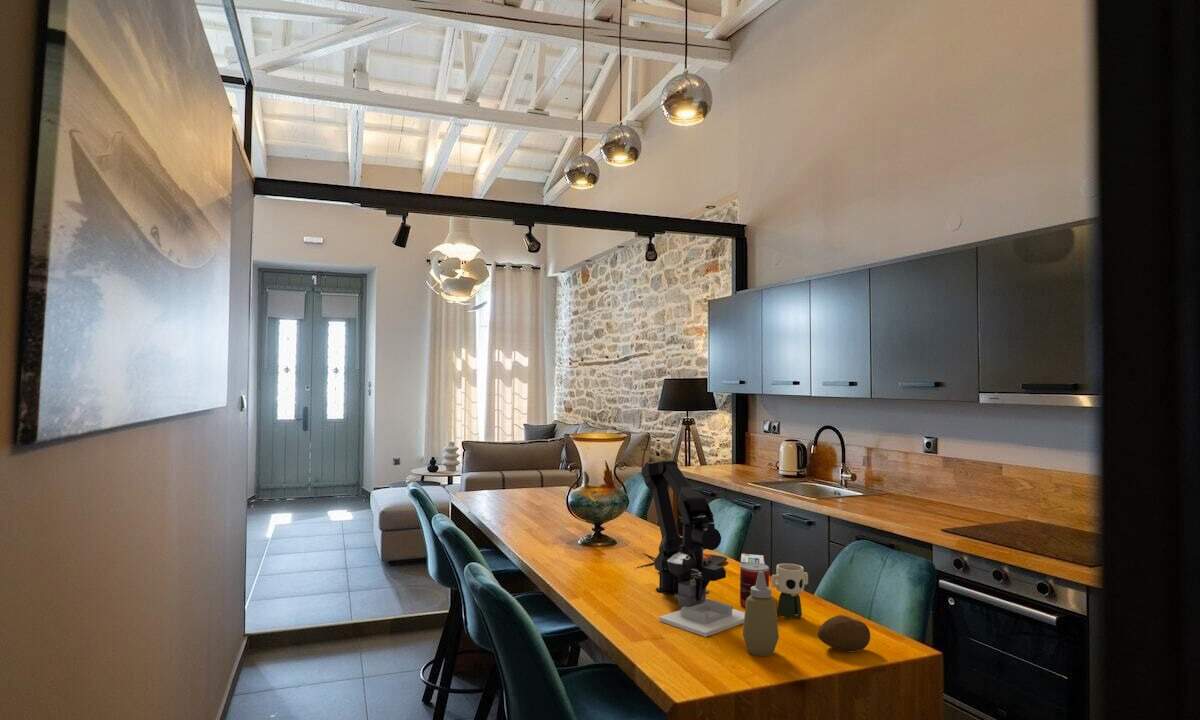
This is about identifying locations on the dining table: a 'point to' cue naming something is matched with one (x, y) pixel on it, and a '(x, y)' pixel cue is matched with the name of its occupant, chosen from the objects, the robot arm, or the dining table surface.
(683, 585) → the block
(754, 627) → the squeeze bottle
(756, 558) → the light bulb box
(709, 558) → the sushi plate
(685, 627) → the plate
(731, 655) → the dining table surface
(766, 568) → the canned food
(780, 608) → the character mug
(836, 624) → the potato
